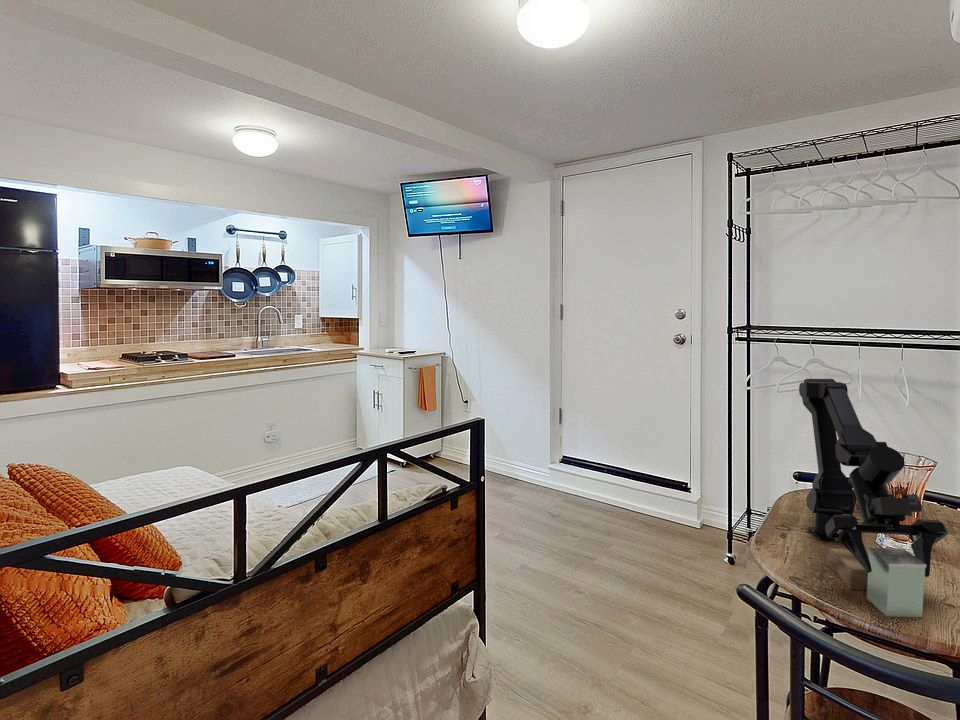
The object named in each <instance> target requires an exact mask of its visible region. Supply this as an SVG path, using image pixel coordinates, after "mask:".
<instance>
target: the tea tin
mask: <svg viewBox="0 0 960 720" xmlns="http://www.w3.org/2000/svg"><path fill="white" fill-rule="evenodd" d="M867 550H868V551H869V561H870V564H871V569H872V572H870V573H868V582H867V590H866V599H867V600H868V601H869V602H870V603H872V604H873V605H874V606H875V607H876V608H877V609H878V610H879V611H880V612H881V613H882V614H883V615H885V617H895V618H899V617H900V618H923V611H924V595H925V594H924V589H925V578H926V577H925V568H926V564H925V563H924V562H922V561H921V560H919V559H918V558H916V557H915V555H914V554H912V553H910V552H909V551H908V550H906V549H905V548H899V547H897V548H893V547H891V548H890V547H889V548H888V547H868V548H867Z"/></svg>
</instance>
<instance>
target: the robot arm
mask: <svg viewBox="0 0 960 720" xmlns="http://www.w3.org/2000/svg"><path fill="white" fill-rule="evenodd" d="M848 391H849V390H848V386H847V384H846V383H845V382H841V381H840V382H839V381H836V380H835V379H834V378H805V379H804V381H803V382H800V383H799V386H798V393H799V396H800V397H801V399H802V405H803V407H805V408H806V409H807V411H808V412H809V413H810V414H811V420H812V427H813V435H814V443H815V453H816V461H817V462H816V463H817V469H818V472H817V474H816V475H815V477H814V479H813V481H812V483H811V486H812V488H811V489H810V491H809V493H808V495H806V497H805V502H806V507H807V509H809V511H810V512H811V513H812V514H814V526H808V527H807V529H808V531H810V532H811V533H812V534H813V535H815V537H817V538H818V539H819V540H820V541H835V542H836V543H840V544H841V545H842V546H843V547H845V549H848V550H849V551H850V552H851V553H852V554H853V555H854V557H855V558H856V559H857V560H858V561H859V563H860V564H861V565H862V566H863V567H864V569H865V570H866V571H867V572H868V573H870V572H872V569H871V564H870V561H869V558H868V555H867V552H866V550H867V549H866V547H865V545H864V541H863V534H865V533H866V534H882V535H898V536H908V537H909V538H908V539H909V540H911V541H912V542H911V544H910V548H911V549H912V552H913V556H915V557H916V558H918V559H919V560H921V561H922V562H924V563H925V564H926V568H925V578H929V576H930V574H931V557H932V549H933V546H934V545H935V544H938V542H940V541H941V540H943V538H944V537H946V536H948V534H949V531H948V530H947V529H948V528H947V526H946V524H944V522H942V521H941V520H939V519H928V518H927V519H925V518H917V519H916V520H915V521H914V522H913V523H912V524H901V522H904V521H905V520H906V517H908V516H909V517H914V516H913V513H920V512H922V511H923V507H922V502H921V500H920V497H919V496H918V494H911V493H908V494H907V493H906V494H903V495H902V497H895V495H894V494H893V493H891V494H890V491H889V488H888V484H890V483H891V482H892V481H893V480H894V479H895V478H896V477H897V476H898V475H899V473H900V472H901V471H902V470H903V469H904V468H905V464H906V461H905V457H904V456H903V455H902V454H901V453H900V452H899V451H898V450H896V449H894V448H893V447H890V446H888V443H887V442H886V441H877V439H876V438H875V436H874V435H873V434H872V433H870V432H869V431H867V430H865V429H864V428H863V426H862V425H861V422H860V420H859V418H858V415H857V413H856V410H855V408H854V405H853V403H852V401H851V398H850V397H849V394H848ZM842 466H845V467H856V468H854V469H852V471H851V472H850V473H849V475H848V476H849V477H847V476H846V474H844V472H843V470H842ZM855 508H856V511H857V510H858V511H859V512H860V516H861V518H862V521H858V519H857V517H856V516H855V515H854V512H855Z"/></svg>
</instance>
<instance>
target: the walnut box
mask: <svg viewBox="0 0 960 720" xmlns="http://www.w3.org/2000/svg"><path fill="white" fill-rule="evenodd" d="M865 550H866V552H867V555H868V558H869V551H868V549H865ZM825 561H826V564H827V565H828V566H829V567H830V568H831V569H832V570H833V571H834V572H835V573H836V574H837V575H838V576H839V577H840V578H841V579H842V580H843V581H844V582H845V583H846V584H845V583H844V582H843V581H842V580H841V579H840V578H839V577H838V576H837V575H836V574H835V573H834V572H833V571H832V570H831V569H830V568H829V567H828V566H827V565H826V564H825V565H826V566H827V567H828V568H829V569H830V570H831V571H832V572H833V573H834V574H835V575H836V576H837V577H838V578H839V579H840V580H841V581H842V582H843V583H844V584H845V585H846V586H847V587H848V588H849V587H850V588H849V589H850V590H861V589H862V590H863V591H864V589H866V590H865V591H867V582H868V572H867V571H866V570H865V569H864V567H863V566H862V565H861V564H860V563H859V561H858V560H857V559H856V558H855V557H854V555H853V554H852V553H851V552H850V551H849V550H848V549H847V548H833V547H832V548H831V547H830V548H826V560H825Z"/></svg>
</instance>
